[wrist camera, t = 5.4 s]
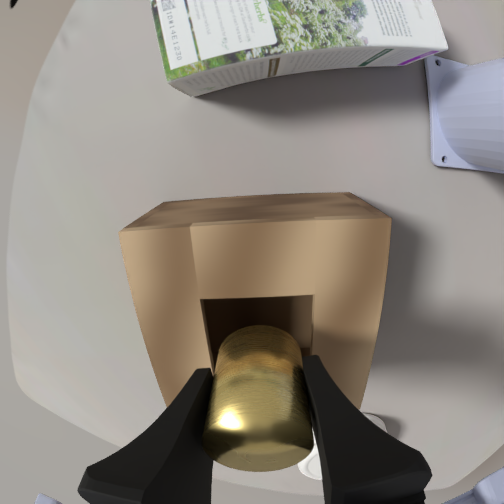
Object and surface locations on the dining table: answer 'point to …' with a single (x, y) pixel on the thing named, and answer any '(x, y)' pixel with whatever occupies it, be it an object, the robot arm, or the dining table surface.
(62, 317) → the dining table surface
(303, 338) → the box
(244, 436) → the cylinder
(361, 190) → the dining table surface
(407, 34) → the syrup box
